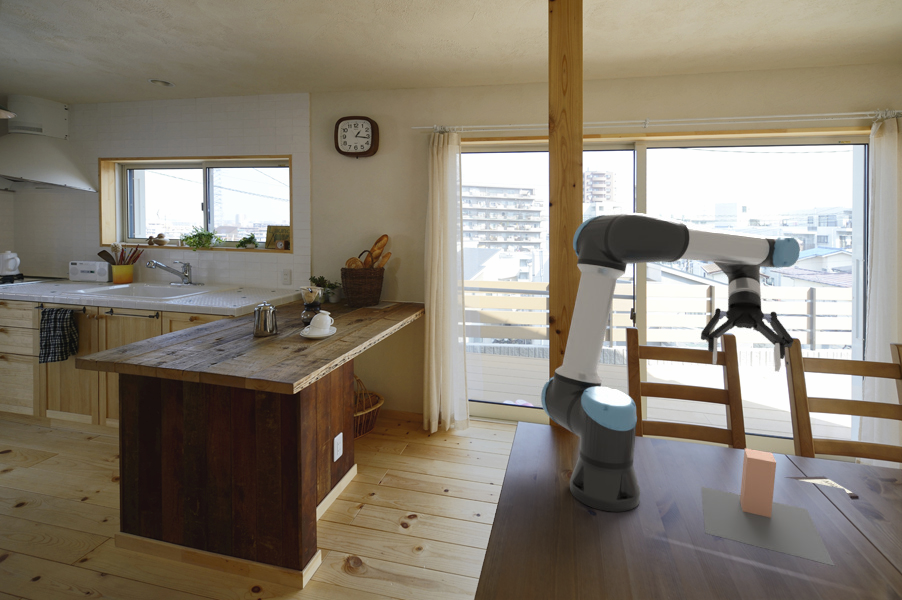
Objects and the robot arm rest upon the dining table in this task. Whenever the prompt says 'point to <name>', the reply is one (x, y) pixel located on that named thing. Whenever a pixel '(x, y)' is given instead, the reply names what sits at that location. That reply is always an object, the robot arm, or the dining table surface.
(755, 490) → the block
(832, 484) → the chocolate bar
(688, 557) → the dining table surface
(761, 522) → the mat
